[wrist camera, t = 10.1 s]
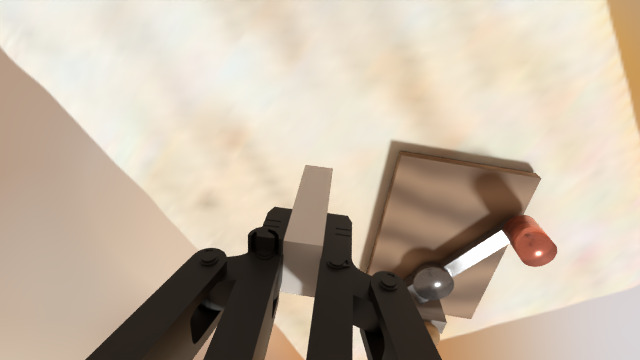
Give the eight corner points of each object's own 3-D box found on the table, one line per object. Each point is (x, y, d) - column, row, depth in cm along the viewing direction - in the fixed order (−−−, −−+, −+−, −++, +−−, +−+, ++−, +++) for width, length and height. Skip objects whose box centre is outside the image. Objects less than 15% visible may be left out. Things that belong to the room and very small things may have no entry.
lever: (516, 199, 45) (541, 229, 39) (539, 225, 46) (567, 258, 40) (397, 277, 52) (403, 312, 47) (421, 297, 54) (430, 334, 48)
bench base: (399, 150, 45) (410, 184, 37) (535, 173, 45) (577, 212, 37) (361, 293, 57) (362, 343, 49) (468, 311, 57) (488, 365, 49)
